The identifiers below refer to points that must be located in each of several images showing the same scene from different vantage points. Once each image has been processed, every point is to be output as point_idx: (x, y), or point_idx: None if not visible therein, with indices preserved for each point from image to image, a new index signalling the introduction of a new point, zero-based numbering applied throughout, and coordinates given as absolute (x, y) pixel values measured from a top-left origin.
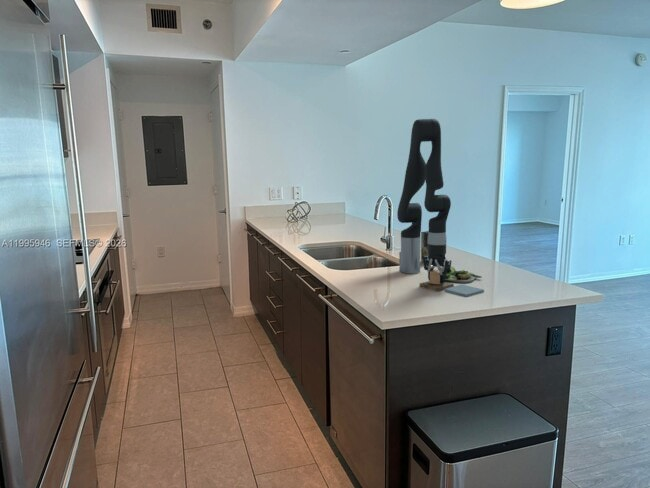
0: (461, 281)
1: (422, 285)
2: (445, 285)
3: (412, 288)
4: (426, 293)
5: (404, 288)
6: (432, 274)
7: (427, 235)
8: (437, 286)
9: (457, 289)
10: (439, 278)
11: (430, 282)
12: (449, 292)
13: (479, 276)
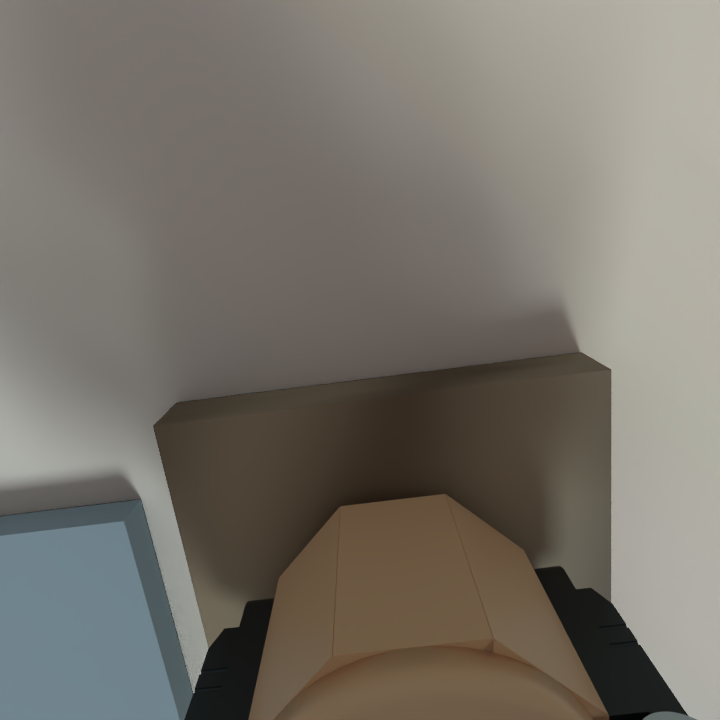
0: None
1: (522, 370)
2: None
3: (586, 177)
4: (176, 171)
5: (691, 37)
6: (398, 649)
7: None
8: (245, 492)
9: (4, 647)
10: (262, 664)
11: (434, 504)
12: (41, 511)
13: None
